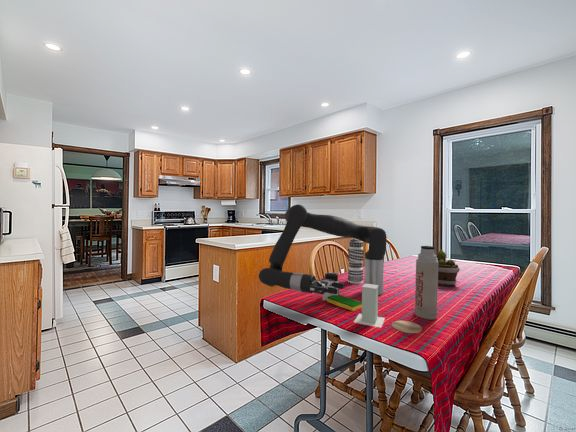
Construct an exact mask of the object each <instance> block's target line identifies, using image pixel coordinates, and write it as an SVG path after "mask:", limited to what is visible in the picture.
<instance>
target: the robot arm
mask: <svg viewBox="0 0 576 432" xmlns="http://www.w3.org/2000/svg"><path fill="white" fill-rule="evenodd" d="M284 219H285V221H286V224H285V226H284V228H283V231H282V233H281V235H280V236H279V237H278V239H277V241H276V243H275V244H274V246H273V249H272V251H271V253H270V255H269V257H268V258H269V259H268V262H269V264H270V265H269V267H265V268H262V269H261V270H260V271H259V272H258V279H259V281H260V282H261V283H262V284H264V285H266V286H268V287H272V288H273V287H275V286H277V287H281V288H284V289H288V290H291V291H292V290H293V291H296V292H301V293H307V294H314V293H315V294H318V295H323V294H324V293H325V294H326V293H327V292H328V293H331V294H337V292H338V289H337V288H339V290H340V289H341V290H343V289H344V286H345V285H344V283H343V282H339V281H338V282H339V283H338V282H335V280H329V279H325V278H323V277H322V278H320V279H317V277H316V275H314V274H309V273H302V272H292V271H283V269H284V267H283V266H284V263H285V261H286V259H287V258H288V254H289V252H290V250H291V247H292V244H293V243H294V240H295V238H296V236H297V234H298V232H299V230H300V229H301V228H309V229H313V230H315V231H318V232H322V233H325V234H328V235H332V236H335V237H341V238H351V239H352V238H355V239H358V240H361V241H363V243H366V244H368V250H367V251H366V252H364V275H363V277H364V278H363V280H364V281H363V285H364V284H365V283H366V284H373V285H379V287H378V296H380V295H383V294H384V275H385V274H384V269H385V265H384V264H385V255H386V252H387V242H388V241H387V238H388V236H387V232H386V231H385V229H383V228H382V227H377V226H369V225H362V224H357V223H354V222H352V221H350V220H348V219H346V218H343V217H339V216H336V215H331V214H315V213H312V212H311V213H310V212H308V211H307V209H306V207H305V206H304V205H302V204H295V205H292V206H291V207H288V209H287V210H286V211H285V213H284ZM330 283H332V284H330Z"/></svg>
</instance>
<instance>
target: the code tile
mask: <svg viewBox="0 0 576 432" xmlns="http://www.w3.org/2000/svg"><path fill="white" fill-rule="evenodd" d="M385 321H386V317H382V316H378V318H377V321H376V323H375V324H374V323H369V322H363V321H362V313H360V312H359V313H358V315H357V316H356V318H355V319H354V320H353V323H355V324H360V325H365V326H370V327H374V328H375V327H376V328H382V327H383V325H384V322H385Z"/></svg>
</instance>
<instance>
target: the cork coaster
mask: <svg viewBox="0 0 576 432" xmlns="http://www.w3.org/2000/svg"><path fill="white" fill-rule="evenodd" d="M391 327H392V328H393V329H395V330H396V331H399V332H402V333H405V334H419V333H421V332H422V330H423V328H422V326H421V325H419V324H417V323H415V322H413V321H408V320H395V321H392V322H391Z"/></svg>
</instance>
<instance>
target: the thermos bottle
mask: <svg viewBox="0 0 576 432" xmlns="http://www.w3.org/2000/svg"><path fill="white" fill-rule="evenodd" d="M435 249H436V248H435V246H431V245H421V246H420V252H419V253H418V254H417V259H416V260H415V290H414V292H415V294H414V315H415V316H417V317H418V318H422V319H427V320H436V319H437V316H438V293H439V291H438V288H439V285H438V260H437V255H436V253H435Z"/></svg>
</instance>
